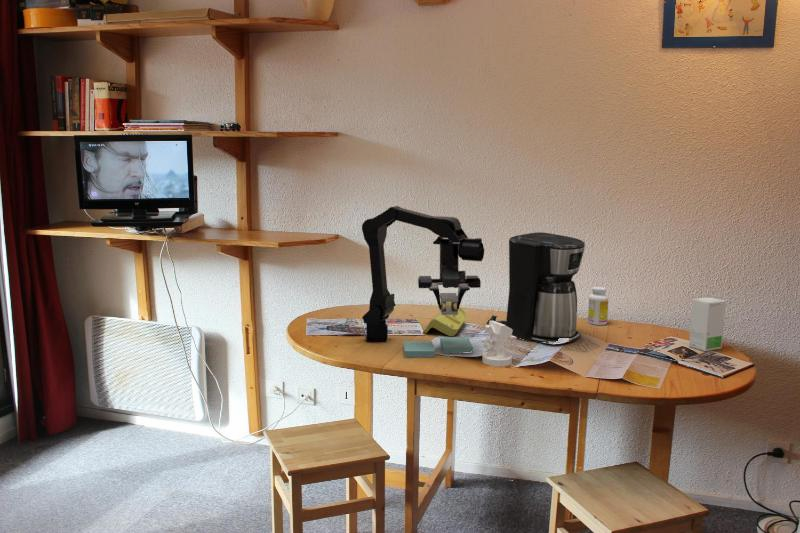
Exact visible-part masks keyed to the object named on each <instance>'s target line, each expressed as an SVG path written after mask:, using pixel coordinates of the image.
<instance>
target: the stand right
mask: <svg viewBox="0 0 800 533" xmlns="http://www.w3.org/2000/svg"><path fill="white" fill-rule="evenodd" d="M439 339H440V341H439V343H440V347H441V350H442V353H443V354H464V353H463V352H471V351H472V352H473V353H474V346H473V345H472V344H473V343H472V342H471V340H470V338H469V337H465V336H464V337H440V338H439ZM460 352H461V353H460Z"/></svg>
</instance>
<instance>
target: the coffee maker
mask: <svg viewBox="0 0 800 533" xmlns="http://www.w3.org/2000/svg"><path fill="white" fill-rule="evenodd" d="M585 245H586V244H585V241H583V240H581V239H579V238H575V237H571V236H567V235H563V234H561V235H560V234H555V233H549V232H540V231H539V232H538V231H537V232H531V233H529V232H528V233H524V234H518V235H513V236H511V237H509V240H508V270H509V271H508V274H509V275H508V276H509V277H508V280H509V281H508V285H509V287H508V288H509V289H508V299H507V300H508V301H507V309H506V310H507V311H506V320H497V318H498V315H493V314H492V316H491V317H490V319H488V320H487V321H486V325H489V321H496V322H498V323H501V324H504V325H505V326H507V327H509V328H511V329H512V330H513V331H512V336H515V337H517V338H516V339H518V338H521V339H520V340H522V339H524V340H523V341H525V340H533V341H532V342H534V341H537V342H536V343H539V342H546V343H549V342H556V341H558V339H559V338H569V341H572V340H574V341H575V339H576V340H577V339H579V338H580V336H581V335H582V334H581V332H580V331H578V330H577V324H578V323H577V321H578V320H577V319H578V318H577V317H578V316H577V315H578V314H577V313H578V296H577V289H576V284H575V281H574V280H572V279H573V277H574V276H576V274H578V273H579V270H580V266H581V263H582V260H583V256H584V252H585ZM572 342H573V341H572Z"/></svg>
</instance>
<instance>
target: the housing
mask: <svg viewBox="0 0 800 533" xmlns="http://www.w3.org/2000/svg"><path fill="white" fill-rule="evenodd" d="M439 294H440V302H441V310H440V309H439V310H440V311H441V315H458V310H457V302H458V297H457V296H458V294H457V292H439ZM447 302H451V305H446V303H447ZM440 311H439V312H440Z"/></svg>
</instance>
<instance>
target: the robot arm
mask: <svg viewBox="0 0 800 533" xmlns="http://www.w3.org/2000/svg"><path fill="white" fill-rule="evenodd" d="M397 221H398V222H401V223H404V224H409V225H412V226H414V227H415V226H416V227H420V228H423V229H426V230H429V231H430V232H432V233H433V234H435V235H437V238H436V239H435V240H434V241H433V242H432V244H433V245H439V278H432V276H431V275H419V277H418V278H417V286H418V289H428V290H429V292H430V291H431V292H433V295H434V297H435V299H436V302H437V305H438V310H441V299H440V288H439V286H442V288H444V289H449V288H454V289H457V297H458V302H457V310H458V309H459V307H460V306H461V302H462V299H463V297H464V295H465V294H466V292H467V291H470V290H471V289H474V288H475V289H480V288H481V286H482V285H481V284H482V283H481V278H480V277H479V275H466V270H459V266H460V265H459V259H461V260H462V261H468V262H469V261H471V262H482V261H483V259H484V256H485V248H484V243H483V240H482V238H479V237H477V238H472V237H471V238H470V237H469V236H468V235H467V234H466V232H465V230H464V229H463V228H462V224H461V222H460V220H459V219H458V218H457V217H454V216H440V215H439V216H437V215H435V216H434V215H430V214H426V213H422V212H418V211H414V210H412V209H411V210H410V209H407V208H404V207H400V206H399V205H395V206H391V207H389V208H387V209H386V210H385V211H383V212H382V213H381V212H380V213H379V214H378V215H376V216H374V217H371V218H367V219H366V220H364V221H363V223H362V225H361V232H362V235H363V238H364V240H365V243H366V245H367V246H368V251H369V252H368V253H369V263H370V265H369V266H370V274H371V286H372V287H371V288H372V292H371V296H370V299H369V307H368V310H367V311H366V313H364V315H363V316H362V317H361V318H362V321H363V323H364V324H365V325H366V326H365V327H366V334H365V337H366V338H365V341H366V343H369V342H374V343H377V342H383V343H384V342H387V339H388V338H389V336H388V335H389V334H388V332H389V331H388V330H389V326H388V323H387V322H386V321H387V319H389V317H390V314H392V313H393V312H394V310H395V306H396V302H395V294H394V293H390V291H389V290H388V281H387V271H386V270H387V268H386V267H387V266H386V259H385V257H386V256H385V255H386V254H385V242H386V239H387V235H388V234H387V233H388V228H389V227H390V226H391V225H393V224H394V223H395V222H397Z"/></svg>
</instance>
